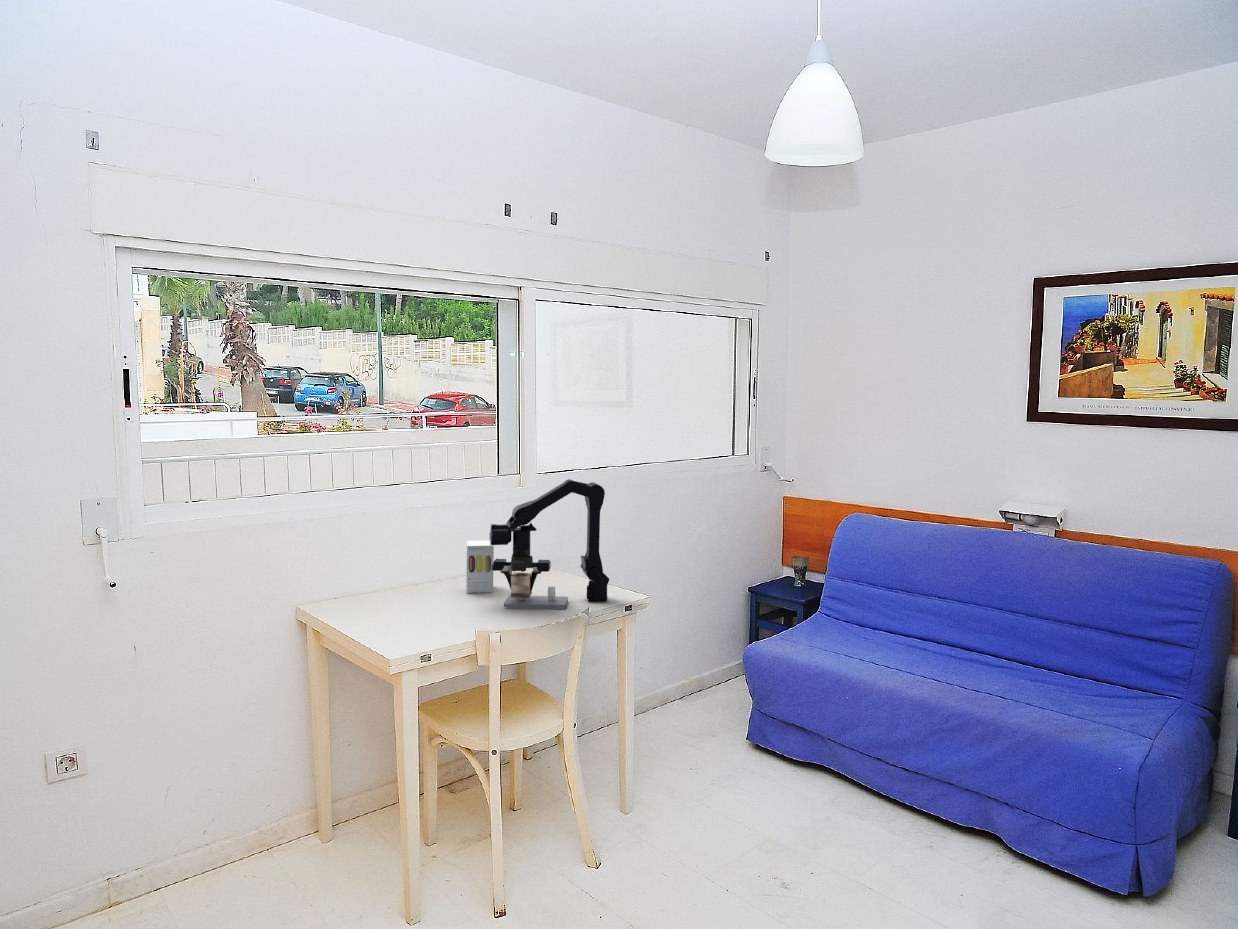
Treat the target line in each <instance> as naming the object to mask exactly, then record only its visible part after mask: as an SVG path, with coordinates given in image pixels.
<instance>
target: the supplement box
mask: <svg viewBox="0 0 1238 929" xmlns="http://www.w3.org/2000/svg"><path fill="white" fill-rule="evenodd" d="M494 546H495V545H490V540H467V541H466V554H465V555H466V557H465V591H466V592H465V593H466V594H473V593H472V592H492V593H493V592H494V571H493V570H492V563H493V562H494V560H495V559H494V558H495V557H494V553H495V552H494Z"/></svg>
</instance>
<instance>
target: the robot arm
mask: <svg viewBox="0 0 1238 929" xmlns="http://www.w3.org/2000/svg"><path fill="white" fill-rule="evenodd" d="M570 494H577V495H580V496H583V497H584V501H585V505H586V508H587V514H586V515H587V516H586V517H587V519H586V520H587V522H586V523H587V525H586V551H585V554H584V555H580V561H581V563H580V566H579V567H580V568H581V570H582V572H583V574H584V575H585V576H586V577H587V578H588V584H587V585H586V599H587V602H589V603H608V599H609V596H608V584H609V581H610V577H608V576H607V575H606V573H605V572H604V569H603V568H604V567H603V562H602V559H601V555H600V538H601V537H600V532H601V531H600V530H601V529H600V528H601V527H600V526H601V509H602V507H603V504H604V500H605V495H606V491H605V489H604V487H603V486H602V485H601V484H598V483H596V482H589V483H586V482H581V481H575V480H573V479H565V481H564V482H561V484H558V485H557V486H555V487H554V488H552V489H550V490H549V491H547V492H546V493H544V494H542V495H541V496H539V497H537V498H536V499H533V500H530V501H526V502H524V503H521V504H518V505H516V506H515V507H514V508H513V509H512V512H511V516H510V518H509V519H508V520H507V521H506V523H505V524H496V523H491V524H490V528H489V529H490V532H489V541H490V545H493V546H508V545H509V544H510V543H512V554H511V557H510V558H511V560H510V561H507V558H495V559H494V562H493V563H492V570H493V572H494V571H498V572H499V571H500V573H501V574H503V575H504V576H505V578H506V580H507V583H508V586H509V588H510V590H511V576H512V574H513V572H526V571H527V569H532V571H531V573H532V577H531V585H530V591H532V590H533V588H534V585H535V582H536V580H537V576H538V575H541V573H542V572H543V573H546V572H550V570H551V566H552V565H551V564H552V562H551V560H549V559H538V560H537V562H535V561H534V560H533V555H531V532H536V531H537V530H538V529H537V528H536V527H535V526H534V524H533V523H532V521H533V520H534V519H535V518H536V517H537V516H538V515H539V514H540V513H541V512H542V511H544V510H545V509H547V508H548V507H550V506H552V505H553V504H555V503H557V502H559V501H560V500H562V499H564V498H565V497H566V496H567V497H568V495H570ZM532 592H533V591H532Z"/></svg>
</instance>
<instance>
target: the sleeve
mask: <svg viewBox="0 0 1238 929" xmlns="http://www.w3.org/2000/svg"><path fill="white" fill-rule="evenodd" d="M531 577H532V572H529V571H528V572H526V571H524V572H521V571H513V572H512V576H511V589H510V595H511V598H530V596H532V592H533V591H530V585H531Z"/></svg>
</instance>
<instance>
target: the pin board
mask: <svg viewBox="0 0 1238 929" xmlns="http://www.w3.org/2000/svg"><path fill="white" fill-rule="evenodd" d="M568 601H569V597H568V596H563V595H562V596H559V595H557V596H556V586H555V585H549V586H547V595H531V596H530V598H511V594H510V595H507V597H506V599H505V601H504V602H503V608H504V607H506V608H505V609H525V608H527V609H530V610H532V609H533V610H536V609H537V610H566V608H567V606H568Z"/></svg>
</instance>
